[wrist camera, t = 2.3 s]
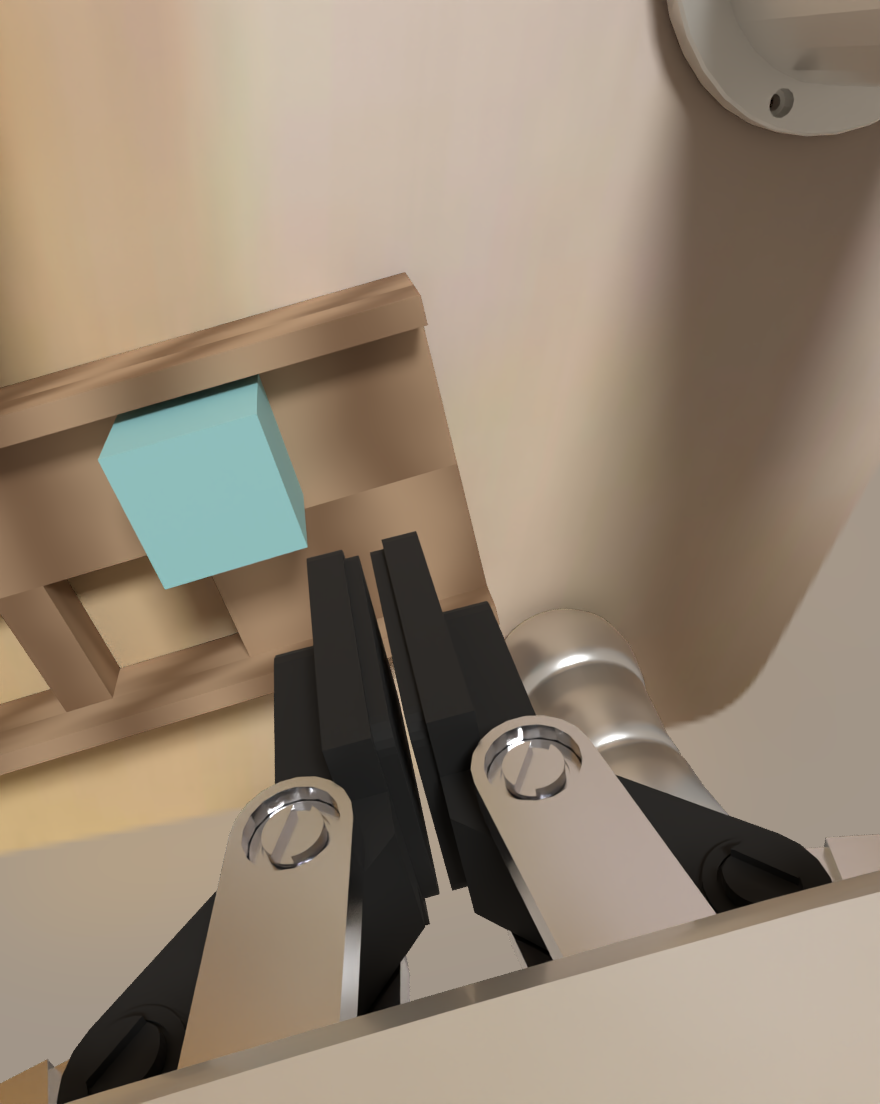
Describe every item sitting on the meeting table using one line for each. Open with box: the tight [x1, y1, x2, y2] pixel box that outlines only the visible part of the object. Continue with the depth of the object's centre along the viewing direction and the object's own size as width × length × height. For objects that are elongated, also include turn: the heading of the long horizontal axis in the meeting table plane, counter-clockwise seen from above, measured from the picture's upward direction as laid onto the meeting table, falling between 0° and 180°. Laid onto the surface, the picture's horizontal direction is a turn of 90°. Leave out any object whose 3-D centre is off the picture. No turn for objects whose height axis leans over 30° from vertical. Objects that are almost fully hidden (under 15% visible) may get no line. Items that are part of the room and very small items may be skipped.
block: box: [98, 374, 308, 589], centre depth 27 cm, size 5×5×4 cm
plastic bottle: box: [505, 609, 728, 815], centre depth 31 cm, size 6×7×20 cm
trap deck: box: [0, 272, 500, 775], centre depth 30 cm, size 30×14×4 cm, turn 104°
